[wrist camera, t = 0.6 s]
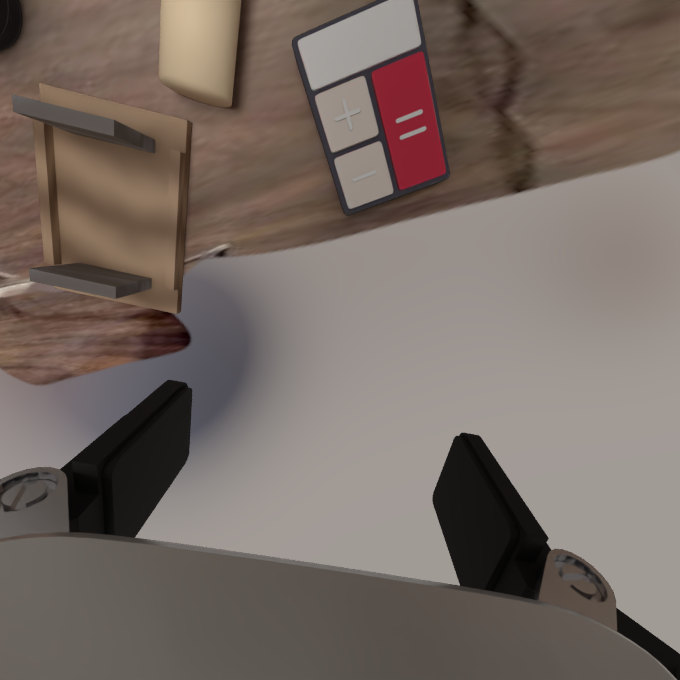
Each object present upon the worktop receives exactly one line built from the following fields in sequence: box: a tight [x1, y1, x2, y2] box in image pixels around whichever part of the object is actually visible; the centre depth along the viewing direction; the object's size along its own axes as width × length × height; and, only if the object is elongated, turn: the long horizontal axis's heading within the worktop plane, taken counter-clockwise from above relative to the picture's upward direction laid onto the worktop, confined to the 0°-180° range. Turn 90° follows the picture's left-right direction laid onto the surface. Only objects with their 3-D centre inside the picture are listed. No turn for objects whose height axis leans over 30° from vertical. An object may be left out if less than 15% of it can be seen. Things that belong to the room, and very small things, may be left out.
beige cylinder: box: [159, 0, 241, 108], centre depth 27 cm, size 10×6×6 cm, turn 167°
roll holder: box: [12, 83, 192, 314], centre depth 31 cm, size 20×14×7 cm
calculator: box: [292, 0, 450, 215], centre depth 30 cm, size 11×4×15 cm
